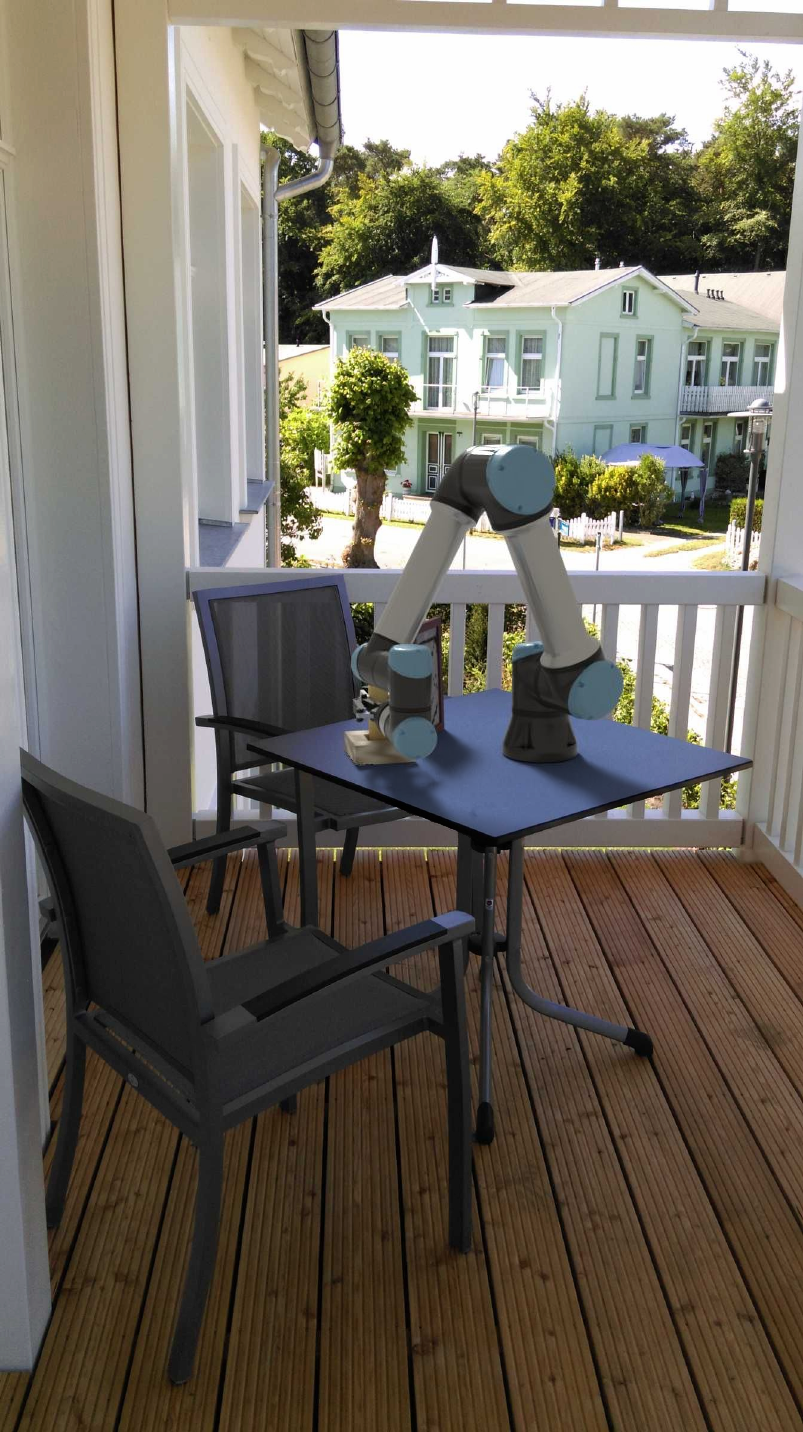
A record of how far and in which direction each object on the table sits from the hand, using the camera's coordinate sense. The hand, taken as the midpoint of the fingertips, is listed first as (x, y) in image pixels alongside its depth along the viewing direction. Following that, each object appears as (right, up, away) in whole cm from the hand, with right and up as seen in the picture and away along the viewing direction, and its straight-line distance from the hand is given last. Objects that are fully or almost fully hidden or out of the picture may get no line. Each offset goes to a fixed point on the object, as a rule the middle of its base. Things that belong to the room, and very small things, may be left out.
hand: (373, 696), depth 237 cm
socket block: (+1, -12, -2) cm, 13 cm away
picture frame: (+8, -9, +14) cm, 18 cm away
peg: (+1, -11, -3) cm, 11 cm away
